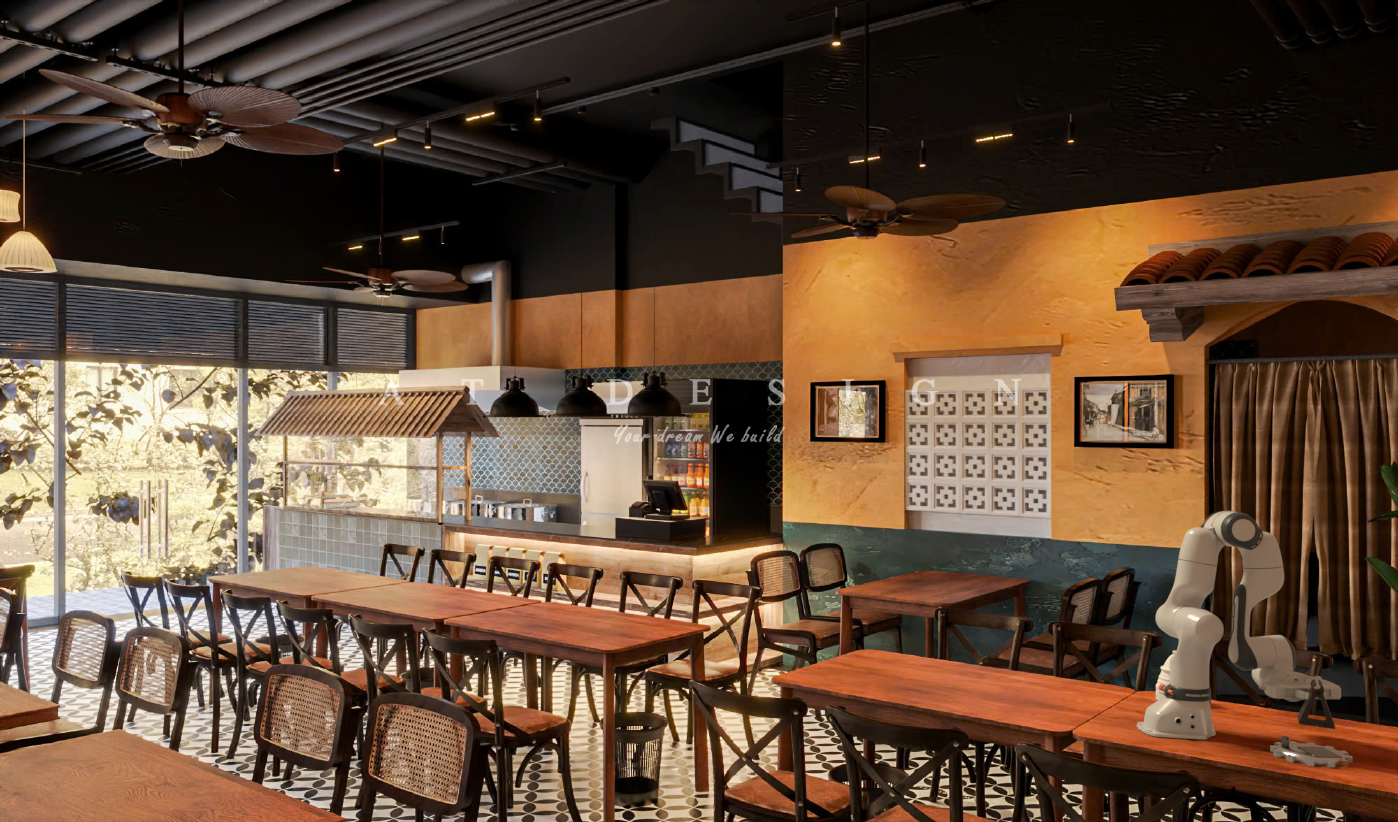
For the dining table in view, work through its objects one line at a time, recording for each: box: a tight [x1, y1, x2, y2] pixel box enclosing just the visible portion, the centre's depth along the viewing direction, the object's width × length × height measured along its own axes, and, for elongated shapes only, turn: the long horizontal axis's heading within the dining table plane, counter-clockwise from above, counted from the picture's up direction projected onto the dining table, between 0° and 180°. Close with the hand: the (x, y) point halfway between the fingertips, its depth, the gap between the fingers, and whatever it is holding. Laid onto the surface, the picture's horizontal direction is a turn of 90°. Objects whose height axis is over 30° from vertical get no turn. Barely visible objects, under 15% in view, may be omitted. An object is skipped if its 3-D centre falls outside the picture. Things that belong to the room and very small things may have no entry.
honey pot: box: [1155, 650, 1177, 700], centre depth 355 cm, size 13×13×18 cm
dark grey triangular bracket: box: [1297, 679, 1336, 730], centre depth 292 cm, size 9×6×12 cm, turn 62°
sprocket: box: [1269, 735, 1354, 768], centre depth 292 cm, size 20×20×4 cm
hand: (1317, 697), depth 293 cm, fingers closed on dark grey triangular bracket, 2 cm apart
